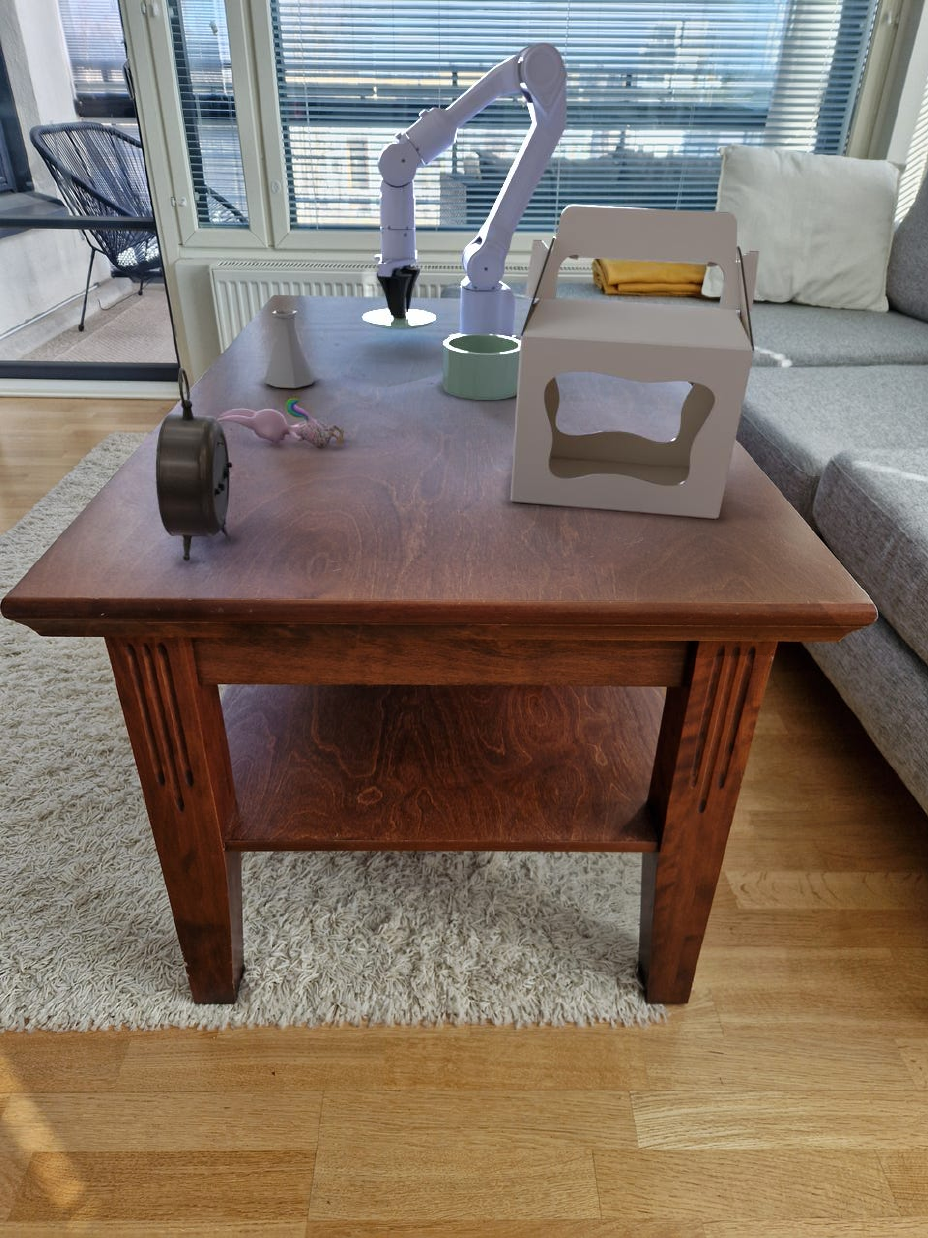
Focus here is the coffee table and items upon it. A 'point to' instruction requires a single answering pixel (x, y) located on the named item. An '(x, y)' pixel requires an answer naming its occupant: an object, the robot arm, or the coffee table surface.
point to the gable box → (634, 366)
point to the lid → (399, 319)
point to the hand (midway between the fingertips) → (399, 314)
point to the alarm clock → (192, 473)
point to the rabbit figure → (284, 425)
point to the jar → (481, 366)
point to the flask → (288, 355)
